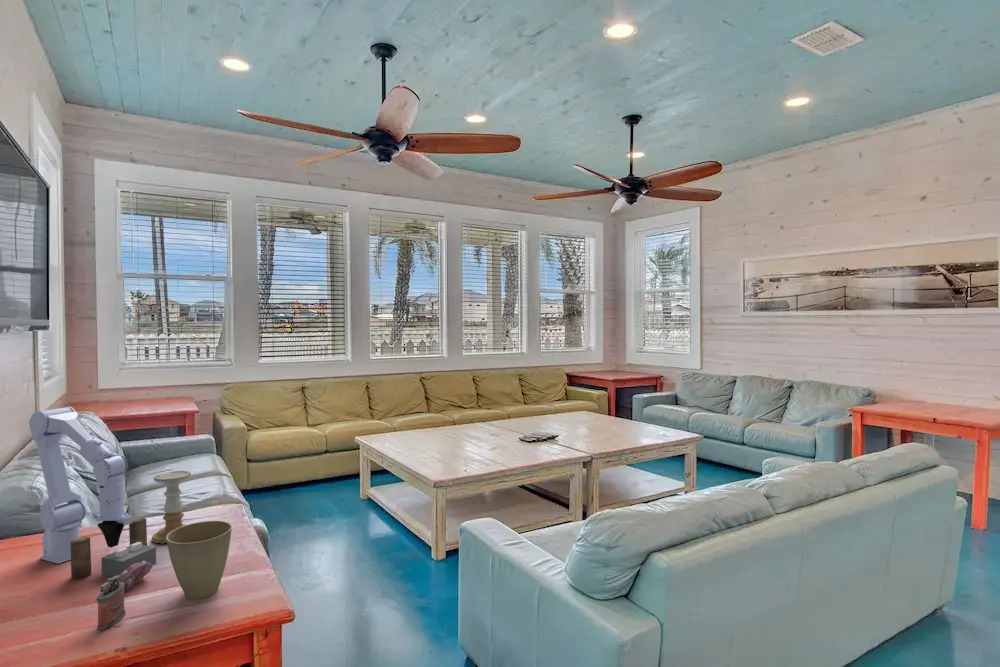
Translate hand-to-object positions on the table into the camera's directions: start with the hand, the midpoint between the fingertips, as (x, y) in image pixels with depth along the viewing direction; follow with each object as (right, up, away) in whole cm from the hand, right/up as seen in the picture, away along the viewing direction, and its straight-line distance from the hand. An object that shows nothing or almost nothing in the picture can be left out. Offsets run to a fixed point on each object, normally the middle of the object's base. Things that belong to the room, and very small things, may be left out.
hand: (113, 545), depth 163 cm
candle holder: (+6, -5, +21) cm, 22 cm away
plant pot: (+34, -6, -17) cm, 38 cm away
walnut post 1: (-4, -6, -7) cm, 10 cm away
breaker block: (+6, -6, -3) cm, 9 cm away
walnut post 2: (+2, -5, +8) cm, 10 cm away
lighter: (+20, -6, -31) cm, 37 cm away
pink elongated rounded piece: (+13, -6, -12) cm, 19 cm away
